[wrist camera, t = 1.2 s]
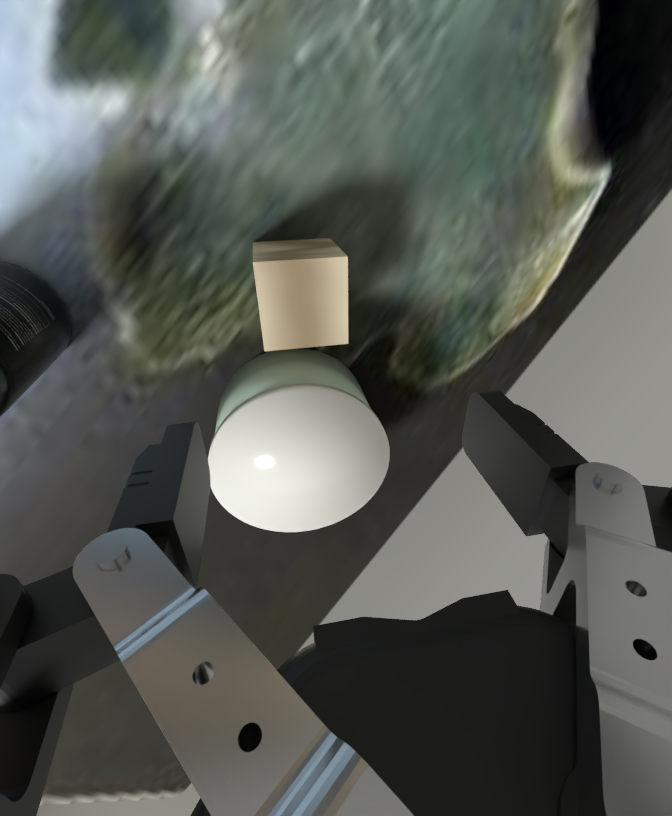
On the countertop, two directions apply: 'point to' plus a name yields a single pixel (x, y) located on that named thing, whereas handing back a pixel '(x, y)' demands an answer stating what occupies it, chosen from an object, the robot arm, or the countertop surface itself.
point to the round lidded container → (295, 443)
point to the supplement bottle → (28, 331)
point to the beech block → (301, 293)
